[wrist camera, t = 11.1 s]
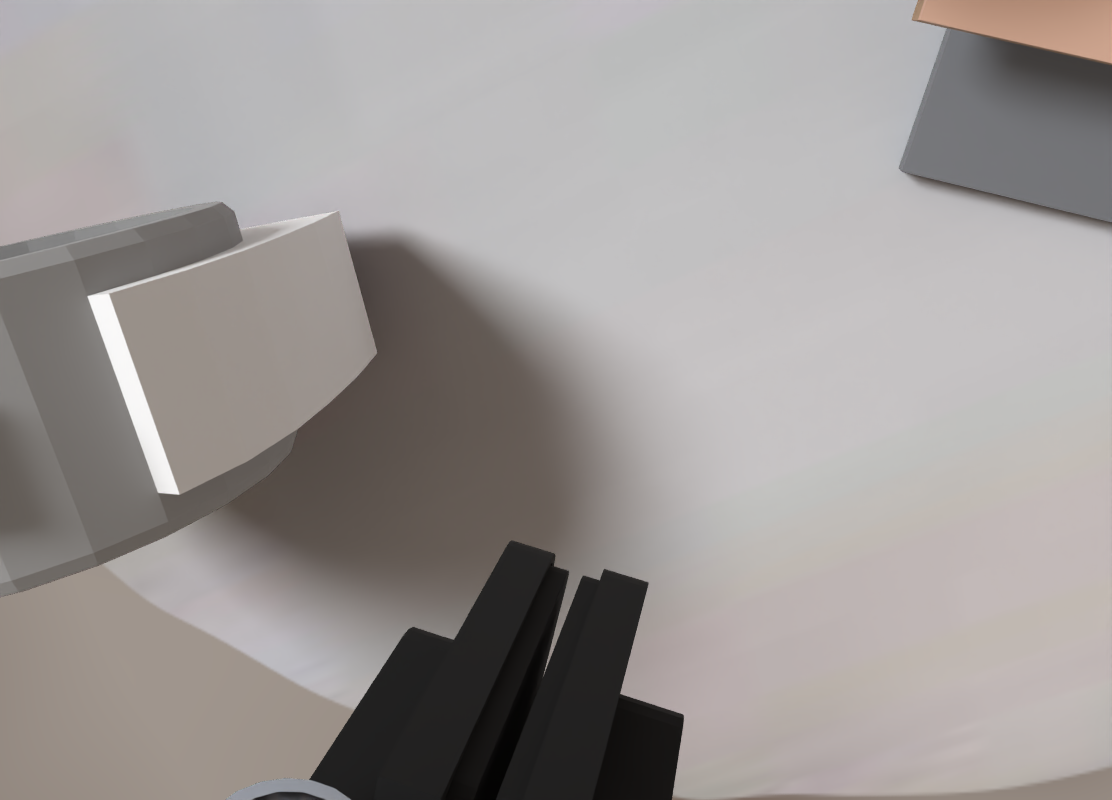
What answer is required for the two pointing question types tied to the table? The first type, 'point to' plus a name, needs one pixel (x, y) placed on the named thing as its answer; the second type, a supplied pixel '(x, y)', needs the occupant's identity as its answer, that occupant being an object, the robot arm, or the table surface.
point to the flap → (1030, 23)
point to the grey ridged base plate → (1017, 124)
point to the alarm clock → (160, 374)
